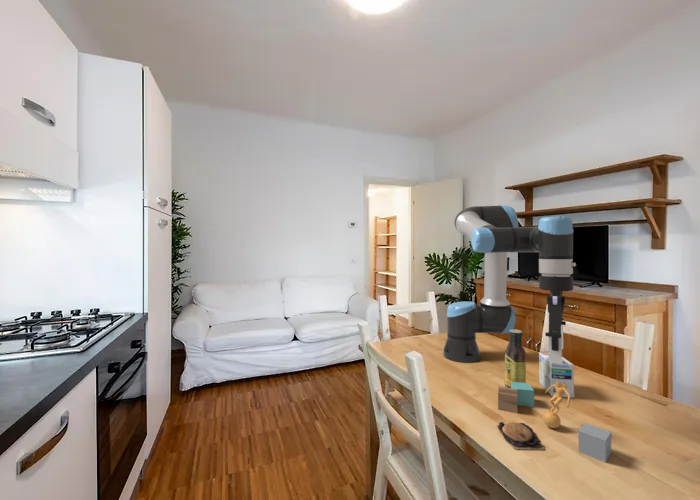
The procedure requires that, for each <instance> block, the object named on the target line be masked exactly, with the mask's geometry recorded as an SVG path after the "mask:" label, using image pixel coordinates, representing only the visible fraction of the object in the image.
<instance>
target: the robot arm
mask: <svg viewBox="0 0 700 500" xmlns="http://www.w3.org/2000/svg"><path fill="white" fill-rule="evenodd" d="M573 226H574V225H573V218H571V217H570V216H567V215H566V216H565V215H564V216H563V215H558V216H557V215H556V216H545V217H541V218H540V219H539V221H538V226H519V218H518V215H517V212H516V210H515V209H514V208H513V207H512V206H510V205H483V206H482V205H480V206H479V205H476V206H470V207H467V208H465V209H463V210H461V211H460V212H458V213H457V214H456V216H455V219H454V227H455V229H456V231H457V232H458V233H459V234H462V235H464V236H467V237H469V238H470V239H471V240H470V241H471V247H472V250H473V251H474V252H475V253H483V254H484V278H483V279H484V280H483V281H484V282H483V285H484V287H483V288H484V289H483V290H484V291H483V293H484V295H483V298H481V299H480V300H479V301H480V302H479V305H477V304H476V302H475V301H466V300H465V301H457V302H453V303H450V304H449V305H448V306H447V312H446V320H447V321H446V322H447V324H446V325H447V326H446V327H447V331H446V333H447V334H446V335H447V338H446V340H445V343H444V346H443V349H442V350H443V352H442V353H443V356H444V357H445V358H446V359H447V360H451V361H452V362H453V361H454V362H458V363H459V362H460V363H475V362H478V361H480V360H481V352H480V349H479V345H478V343H477V340H476V339H477V338H476V336H477V334H498V335H500V334H509V330H511V329H514V328H515V324H516V314H515V313H516V312H515V308H514V307H513V306H512V305H511V302H510V301H509V300H508V299H507V284H508V283H507V281H508V280H507V279H508V253H538V273H539V274H541V275H539V277H538V279H539V281H538V284H539V289H541V290H542V291H550V295H547V297H546V303H547V304H546V305H547V313H548V332H545V334H544V335H545V337H548V353H549V362H550V363H556V364H562V357H563V349H564V326H566V323H567V321H565V320H564V318H563V315H564V313H565V311H564V310H565V306H566V305H565V304H566V296H563V293H564V292H572V291H573V290H574V277H573V276H571V275H573V274H574V268H573V267H576V266H577V264H576V262H573V261H574V260H573V259H574V256H573V255H574V228H573Z"/></svg>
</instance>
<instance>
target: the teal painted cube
mask: <svg viewBox="0 0 700 500" xmlns="http://www.w3.org/2000/svg"><path fill="white" fill-rule="evenodd" d="M511 388H513V389H517V406H521V407H531V408H532V407H533V408H534V407H535V389H534V388H533V387H532V386H531V385H530V384H529V383H528V382H526V383H518V382H511Z"/></svg>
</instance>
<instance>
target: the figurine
mask: <svg viewBox="0 0 700 500" xmlns="http://www.w3.org/2000/svg"><path fill="white" fill-rule="evenodd" d="M553 387H556V388H555V389H556V394H554V395H553V396H551V398H550V399H549V403H550V404H551V405H552V407H551V408H550V409H549V410H547V411H545V412H544V413H543V416H542V421H543V423H544V424H545V425H546V426H547V427H548V428H551V429H557V428H558V427H560V426H561V423H562V422H561V421H562V420H561V418H560V416H559V415H558V412H559V411H560V406H559V405H560V404H561V403H562V402H563V400H564V398H563V397H562V395H563V394H564V393H566V394H567V395H568V397H567V403H566V404H565V408H566V409H569V408H570V401H571V399H572V398H571V395H570V394H569V392H568V391H567V386H566V385H565V384H562V383H559V382H556V384H554V385H552V386H551V387H550V388H548V389H547V390H546V389H545V392H544V393H545V394H547V393H548V392H547V391H548V390H550V389H551V388H553ZM555 409H556V410H555Z"/></svg>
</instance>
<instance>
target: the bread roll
mask: <svg viewBox="0 0 700 500" xmlns="http://www.w3.org/2000/svg"><path fill="white" fill-rule="evenodd" d="M496 427H497V429H498V431H499V433H500V434H501V435H502V437H503V439H504V440H505V442H506V443H508V445H509V446H511V447H512V448H513V450H515V451H539V452H541V451H546V448H545V447H544V445H543V444H542V441H541V440H539V439H538V436H537V434H536V433H535V432H534V430H533V428H531V427H530V426H529V425H527V424H525V423H524V422H509V423H504V422H503V421H500V422H498V425H496Z"/></svg>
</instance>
